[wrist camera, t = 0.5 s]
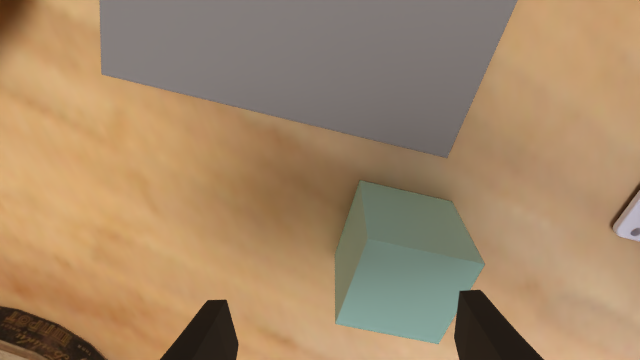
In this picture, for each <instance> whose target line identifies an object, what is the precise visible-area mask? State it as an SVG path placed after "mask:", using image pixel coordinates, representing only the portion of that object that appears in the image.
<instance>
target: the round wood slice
mask: <svg viewBox="0 0 640 360" xmlns="http://www.w3.org/2000/svg"><path fill="white" fill-rule="evenodd" d="M0 360H107V359H106V358H105V357H104V356H103V355H102V354H101V353H100V352H99V351H98V350H97V349H96V348H95V347H94V346H93V345H92V344H91V343H89V342H87V341H86V340H84V339H82V338H81V337H79V336H77V335H76V334H74V333H72V332H71V331H69V330H67V329H66V328H64V327H62V326H61V325H59V324H57V323H54V322H52V321H49V320H46V319H43V318H41V317H38V316H35V315H33V314H30V313H27V312H24V311H22V310H19V309H13V308H7V307H2V306H0Z"/></svg>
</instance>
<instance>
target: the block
mask: <svg viewBox="0 0 640 360" xmlns="http://www.w3.org/2000/svg"><path fill="white" fill-rule="evenodd" d="M484 265H485V263H484V261H483V260H482V258H481V256H480V254H479V252H478V250H477V248H476V246H475V244H474V242H473V240H472V239H471V237H470V235H469V233H468V231H467V229H466V227H465V225H464V223H463V221H462V219H461V218H460V216H459V214H458V212H457V210H456V208H455V206H454V204H453V202H452V201H448V200H444V199H439V198H435V197H431V196H426V195H422V194H418V193H413V192H409V191H405V190H400V189H396V188H392V187H388V186H383V185H379V184H375V183H370V182H366V181H362V180H360V181H359V184H358V187H357V190H356V193H355V196H354V199H353V202H352V205H351V208H350V211H349V214H348V217H347V220H346V223H345V226H344V229H343V232H342V235H341V238H340V241H339V244H338V247H337V250H336V252H335V324H338V325H343V326H348V327H353V328H358V329H363V330H369V331H374V332H379V333H384V334H389V335H394V336H399V337H404V338H409V339H415V340H420V341H425V342H430V343H435V344H439V342H440V341H441V339H442V337H443V335H444V334H445V332H446V330H447V329H448V327H449V325H450V323H451V322H452V320H453V318H454V317H455V315H456V313H457V307H458V299H459V291H465V290H470V289H471V287H472V286H473V284H474V282H475V281H476V279H477V277H478V275H479V274H480V272H481V270H482V269H483V267H484Z"/></svg>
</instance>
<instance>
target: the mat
mask: <svg viewBox="0 0 640 360" xmlns="http://www.w3.org/2000/svg"><path fill="white" fill-rule="evenodd" d="M516 3H517V0H100V34H101V72H102V75H106V76H110V77H115V78H119V79H123V80H127V81H131V82H135V83H139V84H143V85H148V86H152V87H156V88H160V89H164V90H168V91H172V92H176V93H181V94H185V95H189V96H193V97H197V98H201V99H205V100H209V101H214V102H218V103H222V104H226V105H230V106H234V107H238V108H242V109H247V110H251V111H255V112H259V113H263V114H267V115H271V116H276V117H280V118H284V119H288V120H292V121H296V122H300V123H304V124H309V125H313V126H317V127H321V128H325V129H329V130H333V131H337V132H342V133H346V134H350V135H354V136H358V137H362V138H366V139H370V140H375V141H379V142H383V143H387V144H391V145H395V146H399V147H403V148H408V149H412V150H416V151H420V152H424V153H428V154H432V155H436V156H441V157H445V158H447V157H448V155H449V153H450V150H451V148H452V146H453V144H454V141H455V139H456V137H457V135H458V132H459V130H460V128H461V126H462V124H463V121H464V119H465V117H466V115H467V112H468V110H469V108H470V106H471V103H472V101H473V99H474V97H475V94H476V92H477V90H478V88H479V85H480V83H481V81H482V79H483V76H484V74H485V72H486V70H487V68H488V65H489V63H490V61H491V59H492V56H493V54H494V52H495V50H496V47H497V45H498V43H499V41H500V38H501V36H502V34H503V32H504V29H505V27H506V25H507V23H508V21H509V18H510V16H511V14H512V12H513V9H514V7H515V5H516Z"/></svg>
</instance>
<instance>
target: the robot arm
mask: <svg viewBox="0 0 640 360" xmlns="http://www.w3.org/2000/svg"><path fill="white" fill-rule="evenodd" d="M635 228H636V229H635ZM633 229H635V230H633ZM632 230H633V231H632ZM613 231H614V232H615V233H616V234H617V235H618V236H620V237H623V238H627V239H631V240H635V241H640V190H639V192H638V193H637V194H636V196H635V197H634V198H633V200H632V201H631V202H630V204H629V205H628V206H627V208H626V209H625V210H624V212H623V213H622V215H621V216H620V217H619V219H618V220H617V221H616V223H615V224H614V226H613ZM454 339H455V343H456V347H457V352H458V356H459V360H544V359H543V358H542V357H541V356H540V355H539V354H538V353H537V352H536V351H535V350H534V349H533V348H532V347H531V346H530V345H529V344H528V343H527V342H526V341H525V339H524V338H523V337H522V336H521V335H520V334H519V333H518V332H517V331H516V330H515V329H514V328H513V326H512V325H511V324H510V323H509V322H508V321H507V320H506V319H505V318H504V316H503V315H502V314H501V313H500V312H499V311H498V309H497V308H496V307H495V306H494V305H493V304H492V302H491V301H490V300H489V299H488V298H487V297H486V295H485V294H484V293H483V292H482V291H481V290H465V291H459V299H458V307H457V316H456V325H455V334H454ZM237 351H238V340H237V336H236V333H235V329H234V325H233V322H232V318H231V314H230V311H229V307H228V303H227V300H208V301H207V302H206V303H205V304H204V305H203V306H202V308H201V309H200V310H199V312H198V313H197V314H196V315H195V317H194V318H193V319H192V321H191V322H190V323H189V324H188V326H187V327H186V328H185V330H184V331H183V332H182V333H181V335H180V336H179V337H178V338H177V340H176V341H175V342H174V343H173V344H172V346H171V347H170V348H169V349H168V350H167V352H166V353H165V354H164V355H163V357H162V358H161V359H160V360H236V357H237Z"/></svg>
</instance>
